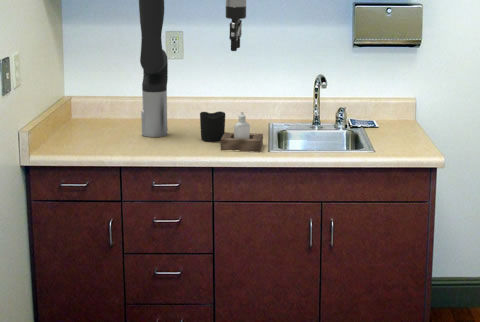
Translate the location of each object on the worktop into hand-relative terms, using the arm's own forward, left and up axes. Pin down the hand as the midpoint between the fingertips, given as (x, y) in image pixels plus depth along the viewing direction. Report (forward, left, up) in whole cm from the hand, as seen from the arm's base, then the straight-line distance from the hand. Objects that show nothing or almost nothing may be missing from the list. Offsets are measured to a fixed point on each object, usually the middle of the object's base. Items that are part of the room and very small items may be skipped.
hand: (235, 49), depth 288 cm
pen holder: (-7, -8, -33) cm, 35 cm away
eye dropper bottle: (+5, -18, -32) cm, 37 cm away
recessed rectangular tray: (+5, -18, -33) cm, 38 cm away
